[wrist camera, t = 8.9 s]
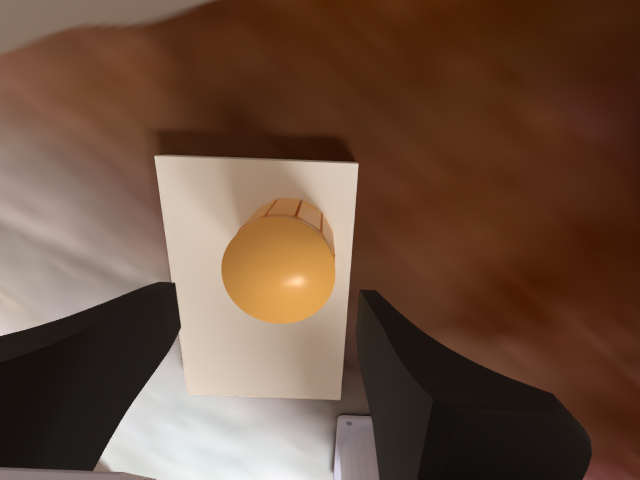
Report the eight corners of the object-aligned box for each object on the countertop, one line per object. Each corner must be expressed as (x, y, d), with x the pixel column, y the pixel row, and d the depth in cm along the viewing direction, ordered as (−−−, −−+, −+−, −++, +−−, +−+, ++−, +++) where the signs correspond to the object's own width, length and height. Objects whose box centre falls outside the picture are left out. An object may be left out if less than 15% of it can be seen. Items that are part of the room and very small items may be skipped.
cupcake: (334, 200, 18) (338, 221, 13) (330, 281, 20) (332, 325, 15) (244, 197, 18) (216, 217, 13) (248, 278, 20) (225, 321, 15)
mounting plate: (355, 161, 19) (366, 169, 14) (339, 385, 25) (343, 443, 20) (167, 154, 19) (114, 159, 14) (195, 379, 25) (164, 436, 20)
